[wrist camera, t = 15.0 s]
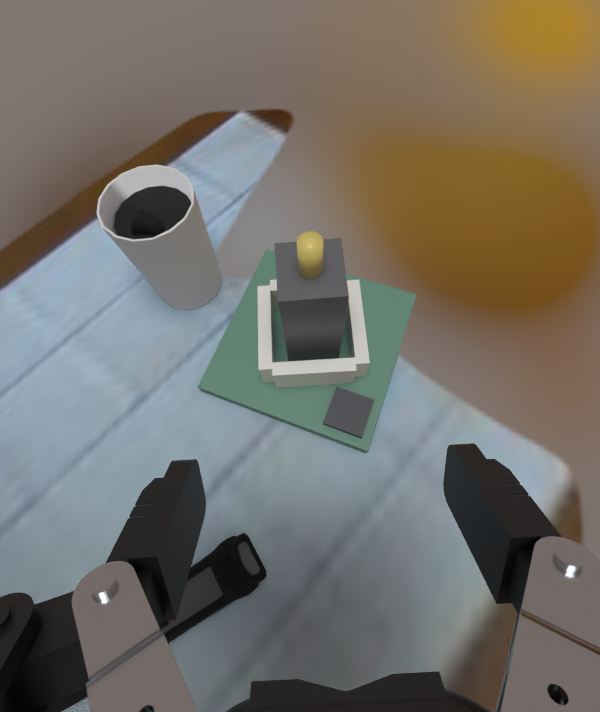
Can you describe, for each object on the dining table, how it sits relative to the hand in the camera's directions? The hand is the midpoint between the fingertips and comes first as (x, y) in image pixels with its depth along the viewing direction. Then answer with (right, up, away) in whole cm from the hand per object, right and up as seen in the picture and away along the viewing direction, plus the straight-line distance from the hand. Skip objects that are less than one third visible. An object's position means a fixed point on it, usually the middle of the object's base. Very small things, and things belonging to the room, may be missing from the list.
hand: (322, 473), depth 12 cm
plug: (0, +5, +19) cm, 20 cm away
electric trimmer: (-10, -14, +14) cm, 22 cm away
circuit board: (0, +5, +20) cm, 21 cm away
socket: (0, +5, +19) cm, 20 cm away
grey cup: (-11, +10, +23) cm, 27 cm away
